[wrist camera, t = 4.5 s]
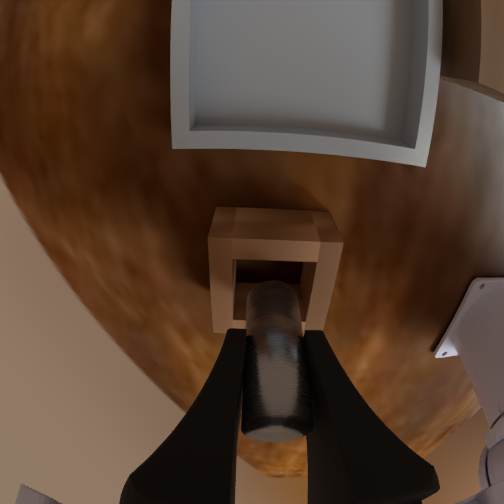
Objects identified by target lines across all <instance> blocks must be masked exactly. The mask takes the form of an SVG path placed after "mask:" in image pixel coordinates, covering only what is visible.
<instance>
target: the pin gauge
mask: <svg viewBox="0 0 504 504" xmlns="http://www.w3.org/2000/svg"><path fill="white" fill-rule="evenodd" d="M245 329H247V332H246V358H245V366H244V375H243V397H242V422H241V431H242V433H243V434H244V435H246V436H247V437H249V438H252V439H255V440H259V441H265V442H283V441H290V440H294V439H298V438H301V437H303V436H305V435H307V434H309V433H310V432H311V431H312V430H313V428H314V420H313V410H312V402H311V393H310V384H309V376H308V368H307V360H306V353H305V345H304V338H303V330H302V322H301V315H300V308H299V301H298V295H297V292H296V291H295V289H294V288H293V287H292V286H291V285H289V284H288V283H285V282H282V281H278V280H269V281H264V282H261V283H259V284H257V285H255V286H254V287H253V288H252V289H251V290H250V291H249V293H248V295H247V301H246V324H245Z"/></svg>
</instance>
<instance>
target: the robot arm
mask: <svg viewBox="0 0 504 504" xmlns="http://www.w3.org/2000/svg"><path fill="white" fill-rule="evenodd" d="M246 332H247V329H237V328H230V329H228V330H227V332H226V336H225V340H224V343H223V346H222V348H221V351H220V353H219V356H218V358H217V360H216V363H215V365H214V367H213V369H212V371H211V373H210V375H209V377H208V379H207V381H206V382H205V384H204V386H203V388H202V390H201V391H200V393H199V395H198V396H197V398H196V400H195V401H194V403H193V404H192V406H191V407H190V409H189V410H188V412H187V413H186V415H185V416H184V417H183V419H182V420H181V421H180V423H179V424H178V425H177V427H176V428H175V429H174V430H173V431H172V433H171V434H170V435H169V436H168V437H167V439H166V440H165V441H164V442H163V443H162V444H161V445H160V446H159V447H158V448H157V449H156V451H155V452H154V453H153V454H152V455H151V456H150V457H149V458H148V459H147V460H146V461H145V462H143V463H142V464H141V465H140V466H139V467H138V468H137V469H136V470H135V471H134V472H132V473H131V474H130V476H129V478H128V479H127V481H126V483H125V485H124V488H123V490H122V493H121V497H120V503H119V504H235V483H236V457H237V440H238V431H239V424H240V417H241V410H242V397H243V375H244V366H245V358H246ZM303 338H304V345H305V353H306V360H307V368H308V376H309V384H310V393H311V402H312V410H313V420H314V428H313V430H312V431H311V432H310V433H309V434H307V435H306V439H307V456H308V504H422V501H421V500H423V499H425V498H427V497H429V496H431V495H432V494H434V493H436V492H437V491H438V490H439V489H440V485H439V481H438V477H437V474H436V471H435V469H434V466H432V465H431V464H429V463H428V462H427V461H425V460H424V459H423V458H421V457H420V456H419V455H417V454H416V453H415V452H414V451H412V450H411V449H410V448H409V447H408V446H407V445H405V444H404V443H403V442H402V441H401V440H400V439H399V438H398V437H397V436H396V435H395V434H394V433H393V432H392V431H391V430H390V429H389V428H388V427H387V426H386V425H385V424H384V423H383V422H382V421H381V420H380V419H379V417H378V416H377V415H376V414H375V413H374V412H373V410H372V409H371V408H370V407H369V406H368V404H367V403H366V402H365V400H364V399H363V398H362V396H361V395H360V394H359V392H358V391H357V389H356V388H355V386H354V385H353V384H352V382H351V380H350V379H349V377H348V376H347V374H346V373H345V371H344V369H343V368H342V366H341V364H340V363H339V361H338V359H337V358H336V356H335V354H334V352H333V350H332V348H331V347H330V345H329V343H328V341H327V339H326V337H325V335H324V333H323V331H322V330H305V333H304V337H303ZM433 354H434V356H435V358H441V357H448V356H454V355H459V357H460V359H461V361H462V364H463V366H464V368H465V370H466V372H467V374H468V376H469V379H470V381H471V383H472V385H473V388H474V390H475V392H476V395H477V397H478V399H479V402H480V404H481V407H482V409H483V412H484V414H485V417H486V419H487V422H488V425H489V427H490V429H491V430H490V431H489V432H488V433H486V434H485V435H484V440H485V443H486V446H485V447H484V449H483V451H482V453H481V456H480V461H479V469H478V477H479V484H480V488H481V492H479V493H478V494H476V495H474V496H472V497H469V498H467V499H465V500H463V501H460V502H458V503H455V504H504V278H476V279H474V280H473V281H472V282H471V284H470V286H469V288H468V290H467V292H466V294H465V296H464V299H463V301H462V303H461V304H460V306H459V308H458V310H457V312H456V314H455V316H454V318H453V320H452V322H451V323H450V325H449V327H448V329H447V331H446V332H445V334H444V336H443V338H442V339H441V341H440V343H439V344H438V346H437V348H436V349H435V351H434V353H433ZM16 504H62V503H59V502H57V501H56V500H54V499H52V498H50V497H48V496H46V495H44V494H42V493H40V492H38V491H36V490H33V489H31V488H29V487H27V486H25V485H23V484H21V486H20V489H19V492H18V496H17V500H16Z"/></svg>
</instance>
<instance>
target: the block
mask: <svg viewBox="0 0 504 504" xmlns="http://www.w3.org/2000/svg"><path fill="white" fill-rule="evenodd" d="M440 78H441V79H444V80H447V81H450V82H453V83H456V84H459V85H462V86H464V87H467V88H470V89H472V90H475V91H477V92H480V93H482V94H485V95H487V96H489V97H492V98H494V99H496V100H499V101H502V102H504V0H443V31H442V53H441V67H440Z"/></svg>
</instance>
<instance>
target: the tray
mask: <svg viewBox="0 0 504 504" xmlns="http://www.w3.org/2000/svg"><path fill="white" fill-rule="evenodd" d="M442 31H443V0H172V10H171V42H170V98H171V132H172V149H254V150H276V151H293V152H307V153H319V154H330V155H340V156H350V157H358V158H367V159H375V160H382V161H389V162H396V163H402V164H409V165H415V166H421V167H426V163H427V158H428V153H429V148H430V143H431V137H432V131H433V125H434V118H435V112H436V104H437V96H438V88H439V78H440V67H441V53H442Z"/></svg>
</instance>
